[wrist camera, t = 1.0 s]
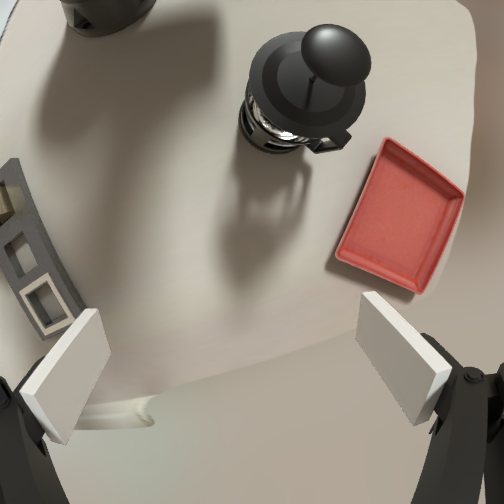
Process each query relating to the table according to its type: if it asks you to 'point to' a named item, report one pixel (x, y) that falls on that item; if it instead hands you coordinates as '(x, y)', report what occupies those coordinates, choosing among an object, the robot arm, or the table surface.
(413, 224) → the red serving tray
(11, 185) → the grey flat slotted block
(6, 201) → the peg
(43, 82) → the table surface
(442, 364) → the robot arm
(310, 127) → the french press
